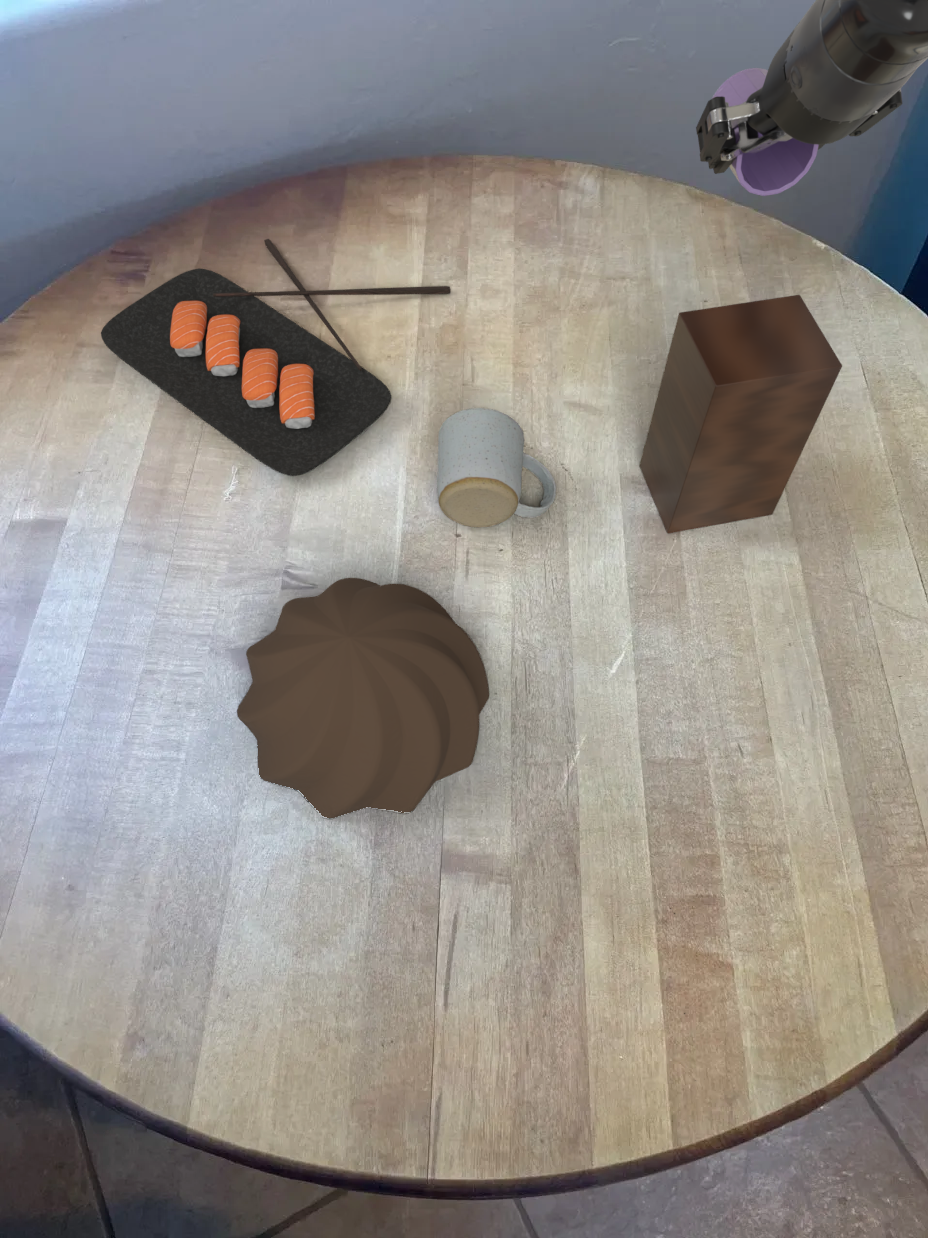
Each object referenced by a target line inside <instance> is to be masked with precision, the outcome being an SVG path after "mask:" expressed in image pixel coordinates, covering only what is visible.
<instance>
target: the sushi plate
mask: <svg viewBox="0 0 928 1238" xmlns="http://www.w3.org/2000/svg"><path fill="white" fill-rule="evenodd" d="M264 245H265V247H266V246H267V247H266V248H267V250H268V251H269V252H270V254H271V255H272V256H273V258H274V259H275V260H276V262H277V263H278V264H279V266H280V267H281V268H282V270H283V272H284V273H286V275H287V276H288V277H289V279H290V280H291V281H292V283H293V284H294V285H295V287H296V288H297V289H298V290H286V291H285V290H283V291H247V290H246V289H245V288H243V287H241V286H239V285H238V284H236V283H235V282H233V281H232V280H230V279H228V278H227V277H225V276H223V275H222V274H220V273H217V272H215V271H213V270H211V269H210V270H209V269H208V268H207V269H206V268H193V269H189V270H186V271H184V272H182V273H179V274H178V275H176V276H175V277H172V278H171V279H169V280H167V281H165V282H164V283H162V284H161V285H159V286H158V287H156V288H155V289H152V290H151V291H150V292H148V293H147V294H145V295H144V296H142V297H140V298H139V299H138V300H136V301H134V302H133V303H131V304H130V305H129V306H127V307H126V308H124V309H123V310H121V311H120V312H118V313H116V315H115V316H113V317H112V318H111V319H110V320H109V321H107V322H106V323H105V325H103V327H102V329H101V331H100V337H101V339H102V341H103V344H104V345H105V346H106V347H107V348H108V349H109V350H110V351H111V352H112V353H113V354H114V355H115V356H117V358H119V359H120V360H122V361H123V362H124V363H125V364H127V365H128V366H130V367H131V368H132V369H134V370H135V371H136V372H138V374H140V375H142V376H143V377H144V378H146V379H147V380H148V381H149V382H151V383H152V384H154V385H155V386H157V387H158V388H159V389H161V390H162V391H163V392H165V393H166V394H167V395H169V396H170V398H173V399H174V400H175V401H177V402H178V403H180V404H181V405H183V407H185V408H186V409H187V410H189V411H190V412H192V413H193V414H194V415H196V416H197V417H198V418H200V419H201V420H203V421H204V422H205V423H207V424H208V425H209V426H211V427H212V428H213V429H215V430H216V431H218V432H219V433H220V434H222V436H224V437H226V438H227V439H228V440H230V441H231V442H232V443H234V444H235V445H237V447H239V448H240V449H242V450H243V451H244V452H246V453H247V454H249V455H251V456H252V457H253V458H254V459H256V460H257V461H259V462H260V463H261V464H264V466H266V467H268V468H269V469H272V470H273V471H275V472H277V473H280V474H283V475H286V476H291V477H297V476H302V475H305V474H306V473H309V472H311V471H313V470H315V469H317V468H318V467H320V466H321V465H323V464H324V463H326V462H327V461H328V460H329V459H331V458H333V457H334V456H335V455H337V453H338V452H339V453H340V451H341V450H342V449H344V448H345V447H346V446H347V445H349V444H350V443H351V442H352V441H353V440H355V439H356V438H357V437H358V436H360V435H361V434H362V433H364V432H365V430H366V429H368V428H369V427H370V426H371V425H373V424H374V423H375V422H376V421H377V420H378V419H379V418H380V417H381V416H383V414H384V413H385V412H386V410H387V409H388V408H389V406H390V404H391V401H392V398H393V397H392V393H391V391H390V390H389V388H388V387H387V385H386V383H384V382H383V381H382V380H380V379H379V378H378V377H377V376H375V375H374V374H372V373H371V372H370V371H368V370H367V369H365V367H363V366H361V365H360V363H359V362H358V361H357V359H356V358H355V357H354V355H353V354H352V353H351V351H350V349H349V348H348V347H347V346H346V344H345V343H344V342H343V340H342V339H341V336H339V334H338V333H337V331H335V329H334V327H333V326H332V325H331V323H330V322H329V321H328V319H327V318H326V316H325V315H324V314H323V312H322V311H321V310H320V308H319V307H318V305H317V304H316V303H315V301H314V300H313V298H312V297H311V296H357V295H358V296H378V295H379V296H381V295H382V296H387V295H388V296H389V295H390V296H391V295H392V296H395V295H397V296H398V295H399V296H401V295H404V296H405V295H447V294H450V293H451V286H449V285H432V286H431V285H430V286H404V287H402V286H401V287H398V286H397V287H372V288H371V287H369V288H348V289H347V288H346V289H345V288H344V289H321V290H319V289H318V290H306V289H305V286H303V284H302V282H301V281H300V280H299V279H298V277H297V275H296V274H295V273H294V272H293V270H292V268H291V267H290V266H289V264H288V262H286V260H285V259H284V257H283V256H282V255H281V253H280V252H279V250H278V249H277V247H276V246H275V245H274V243H273V242H272V240H270V238H266V239H264ZM278 296H279V297H281V296H282V297H284V296H303V297H304V299H305V300H306V301H307V302H308V304H309V305H310V307H311V308H312V309H313V310H314V312H315V313H316V314H317V315H318V317H319V319H320V320H321V321H322V322H323V324H324V325H325V327H326V328H327V329H328V331H329V332H330V333H331V335H332V336H333V337H334V339H335V340H336V341H337V343H338V344H339V346H340V347H341V348H342V350H343V351H344V352H345V353H346V355H347V356H346V355H345V354H343V353H342V352H340V351H339V350H338V349H336V348H334V347H333V346H331V345H329V343H326V342H325V341H323V340H322V339H320V338H319V337H318V336H316V335H314V334H313V333H311V331H308V330H306V329H305V328H304V327H302V326H300V325H299V324H297V323H296V322H294V321H293V320H292V319H290V318H289V317H287V316H285V315H284V314H282V313H281V312H279V311H278V310H276V309H274V307H271V306H270V305H269V304H267V303H265V302H264V301H262V300H261V299H259V298H258V297H278Z"/></svg>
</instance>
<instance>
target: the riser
mask: <svg viewBox="0 0 928 1238" xmlns="http://www.w3.org/2000/svg"><path fill="white" fill-rule="evenodd" d="M668 350H669V351H668V354H667V357H666V361H665V365H664V369H663V374H662V376H661V380H660V385H659V387H658V388H659V389H658V392H657V396H656V400H655V404H654V408H653V412H652V415H651V420H650V423H649V427H648V431H647V435H646V438H645V442H644V446H643V450H642V454H641V458H640V462H639V465H638V466H639V470H640V471H641V473H642V476H643V478H644V481H645V483H646V486H647V488H648V490H649V493H650V495H651V499H652V500H653V503H654V505H655V507H656V510H657V512H658V514H659V517H660V519H661V521H662V525H663V526H664V529H665V531H666V533H667V534H674V533H680V532H684V531H685V532H686V531H690V530H697V529H701V528H707V527H712V526H717V525H723V524H729V523H734V522H735V523H736V522H739V521H746V520H750V519H757V518H763V517H767V516H772V515H773V514H774V512H775V511H776V508H777V506H778V505H779V502H780V499H781V498H782V496H783V493H784V491H785V488H786V487H787V485H788V483H789V480H790V478H791V476H792V475H793V473H794V470H795V468H796V466H797V464H798V461H799V459H800V457H801V455H802V452H803V451H804V449H805V446H806V444H807V442H808V440H809V438H810V436H811V433H812V432H813V430H814V427H815V425H816V423H817V421H818V419H819V416H820V415H821V413H822V410H823V408H824V407H825V404H826V402H827V400H828V397H829V395H830V394H831V391H832V389H833V387H834V385H835V383H836V381H837V379H838V377H839V374H840V373H841V370H842V368H843V364H842V362H841V361H840V359H839V358H838V356H837V354H836V352H835V351H834V349H833V348H832V346H831V344H830V342H829V341H828V339H827V337H826V336H825V334H824V333H823V330H822V329H821V328H820V325H819V324H818V323H817V321H816V320H815V317H814V316H813V314H812V313H811V311H810V309H809V307H808V305H807V304H806V303H805V301H804V299H803V298H802V296H801V295H800V294H794V295H788V296H787V295H785V296H781V297H774V298H767V299H761V300H755V301H748V302H741V303H740V302H739V303H734V304H733V303H732V304H728V305H727V304H726V305H721V306H714V307H713V306H712V307H708V308H700V309H693V310H687V311H681V312H679V313H678V316H677V319H676V324H675V327H674V330H673V335H672V338H671V342H670V346H669V349H668Z"/></svg>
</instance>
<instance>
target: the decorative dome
mask: <svg viewBox="0 0 928 1238" xmlns="http://www.w3.org/2000/svg"><path fill="white" fill-rule="evenodd" d="M245 655H246V660H247V663H248V667H249V672H250V675H251V684H250V686H249V689H248V690H247V692H246V693H245V695H244V697H243V699H242V700H241V701H240V703H239V705H238V706H237V709H236V714H237V715H236V716H237V718H238V719H239V721H241V723H242V724H244V726H245V727H246V728H247V729H248V730H249V732H250V733H251V734H252V735H253V736H254V738H255V739H256V749H257V748H258V756H257V769H258V768H259V775H260V777H261V778H262V779H263V780H262V779H261V778H260V777H259V778H260V779H261V780H262V781H264V782H266V781H268V782H267V783H270V782H271V783H270V784H273V783H275V784H274V785H276V784H278V785H277V786H280V785H282V786H281V787H283V786H286V787H290V788H293V789H296V790H299V791H300V792H301V793H302V794H303V795H304V797H306V799H307V800H308V801H309V802H310V803H311V804H312V805H313V806H314V808H316V810H318V811H319V813H321V815H322V816H324V817H327V818H333V819H336V818H339V817H338V816H340V817H342V816H341V815H343V816H345V815H344V814H346V815H348V814H347V813H349V814H352V813H354V812H353V811H355V812H358V811H361V810H364V809H367V808H366V807H371V808H370V809H372V808H378V809H386V810H394V811H398V812H401V811H402V812H401V813H404V812H410V813H412V812H413V811H414V810H415V809H416V808H417V806H418V805H419V804H420V803H421V801H422V800H423V799H424V797H425V796H426V795H427V794H428V792H429V791H430V790H431V788H432V787H433V785H434V784H435V783H436V782H438V781H440V780H443V779H445V778H447V777H449V776H451V775H454V774H457V773H458V772H461V771H463V770H465V769H467V768H469V767H471V765H472V764H473V762H474V758H475V755H476V752H477V746H478V741H479V736H480V715H481V713H482V711H483V709H484V708H485V706H486V705H487V703H488V701H489V699H490V687H489V681H488V677H487V675H488V674H487V671H486V668H485V665H484V662H483V658H482V656H481V654H480V652H479V650H478V648H477V646H476V643H475V642H474V641H473V640H472V638H471V637H470V635H469V634H468V632H466V631H465V630H464V629H463V628H462V627H461V626H460V625H459V624H457V623H456V622H455V620H454V619H453V617H452V616H451V615H450V613H449V612H448V611H447V610H446V609H445V608H444V606H443V605H442V604H441V603H439V601H438V600H437V599H435V598H434V597H433V596H431V595H430V594H428V593H427V592H425V591H423V590H422V589H419V588H417V587H415V586H413V585H409V584H404V583H386V584H378V583H376V582H374V581H371V580H369V579H365V578H360V577H344V578H341V579H338V580H336V581H334V582H333V583H331V584H330V585H329V586H328V587H326V588H325V589H324V590H323V591H321V593H319V594H318V595H314V596H313V595H312V596H303V597H295V598H292V599H290V600H288V601H287V602H285V603H284V605H283V606H282V608H281V611H280V614H279V617H278V620H277V623H276V626H275V628H274V630H273V631H272V632H270V633H268V634H267V635H266V636H264V637H263V638H261V639H260V640H258V641H256V642H255V643H253V644H251V645H250V646H249V647H248V648H247V649H246V652H245ZM257 745H258V746H257ZM259 775H258V776H259ZM286 787H285V788H286ZM290 788H289V789H290ZM293 789H292V790H293ZM296 790H295V791H296ZM304 797H303V798H304ZM422 798H423V799H422ZM306 799H305V800H306ZM307 800H306V801H307ZM308 801H307V802H308ZM314 808H313V809H314ZM363 808H364V809H363ZM360 809H361V810H360ZM378 809H377V810H378ZM316 810H315V811H316ZM357 810H358V811H357ZM411 811H412V812H411ZM351 812H352V813H351ZM401 813H400V814H401ZM335 817H336V818H335Z"/></svg>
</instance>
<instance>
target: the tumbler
mask: <svg viewBox="0 0 928 1238" xmlns="http://www.w3.org/2000/svg"><path fill="white" fill-rule="evenodd" d="M767 72H768V69H766V68H760V67H750V68H746V69H743V70H740V71H737V72H735V73H733V74H732V75H730V77H728V78H727V79H726V80H724V81H723V82H722V83H721V84H720V86H719V87H718V88H717V90H716V91H715V92H714V94H713V96H712V98H711V99H713V98H714V97H721V96H723V97H725V102H728V103H729V107H730V106H735V105H740V104H742V103H744V102H745V101H747V99H748V97H749V96H750V95H751V94H752V93H754V92H756V91H757V90H759V89H760V88H762V87H763V84H764V81H765V78H766V75H767ZM758 135H759V138H760V137H762V136H763V135H762V134H760V133H759V132H758ZM735 138H736V144H737V143H738V142H739V140H740V136H739V128H736V129H735ZM818 145H819V144H808V143H804V142H801V141H798V140H796V139H794V138H792V139H790V140H788V141H786V142H783V141H779V142H777V143H775V144H773V145H772V146H770V147H768V148H766V149H764V150H762V151H760V152H758V153H743V154H741V155H739V156H737V157H736V159H735V160H734V161H733V162H732V164H731V165H730V166H729V167H728V168H729V169H730V170H731V172H732V174H733V175H734V176H735V178H736V180H737V181H738V183H739V185H741V186H742V188H744V189H745V191H747V192H748V193H750V194H754V195H758V196H761V197H767V196H771V195H777V194H781V193H783V192H784V191H786V190H788V189H790V188H792V187H794V186H795V185H796V184H797V183H799V181H801V179H802V178H803V177H804V176H805V175H807V173H808V172H809V171H810V170H811V167H812V166H813V164H814V162H815V160H816V158H817V155H818V151H819V150H818Z"/></svg>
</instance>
